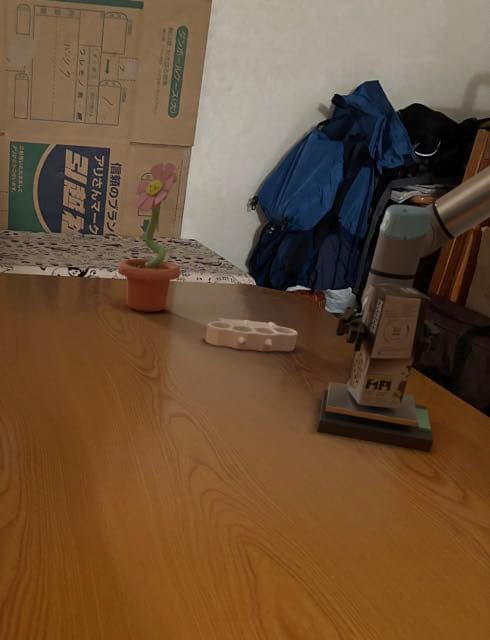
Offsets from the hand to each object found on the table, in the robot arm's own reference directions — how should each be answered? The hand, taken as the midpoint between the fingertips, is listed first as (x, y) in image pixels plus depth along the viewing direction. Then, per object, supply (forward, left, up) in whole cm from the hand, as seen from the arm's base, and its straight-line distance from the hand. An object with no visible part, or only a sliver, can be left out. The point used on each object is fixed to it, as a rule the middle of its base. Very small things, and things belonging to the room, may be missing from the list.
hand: (389, 346), depth 110 cm
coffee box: (0, -5, -9) cm, 11 cm away
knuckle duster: (+23, -42, -13) cm, 50 cm away
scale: (-1, -5, -13) cm, 14 cm away
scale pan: (0, -5, -11) cm, 12 cm away
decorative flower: (+49, -58, -13) cm, 77 cm away
